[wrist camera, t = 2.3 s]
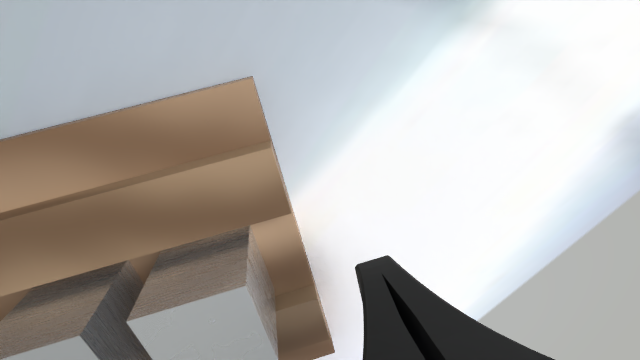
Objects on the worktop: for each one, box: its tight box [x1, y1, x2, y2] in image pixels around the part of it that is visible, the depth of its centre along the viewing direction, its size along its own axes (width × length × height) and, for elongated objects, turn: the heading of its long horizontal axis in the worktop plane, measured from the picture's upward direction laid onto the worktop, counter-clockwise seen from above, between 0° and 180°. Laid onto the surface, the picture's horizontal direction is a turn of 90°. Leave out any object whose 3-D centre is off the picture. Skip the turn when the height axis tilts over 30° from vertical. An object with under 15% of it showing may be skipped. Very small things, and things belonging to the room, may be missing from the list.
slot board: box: [0, 76, 335, 360], centre depth 14 cm, size 16×16×2 cm
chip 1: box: [0, 260, 153, 360], centre depth 12 cm, size 4×4×4 cm
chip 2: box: [126, 225, 278, 360], centre depth 13 cm, size 4×4×4 cm
